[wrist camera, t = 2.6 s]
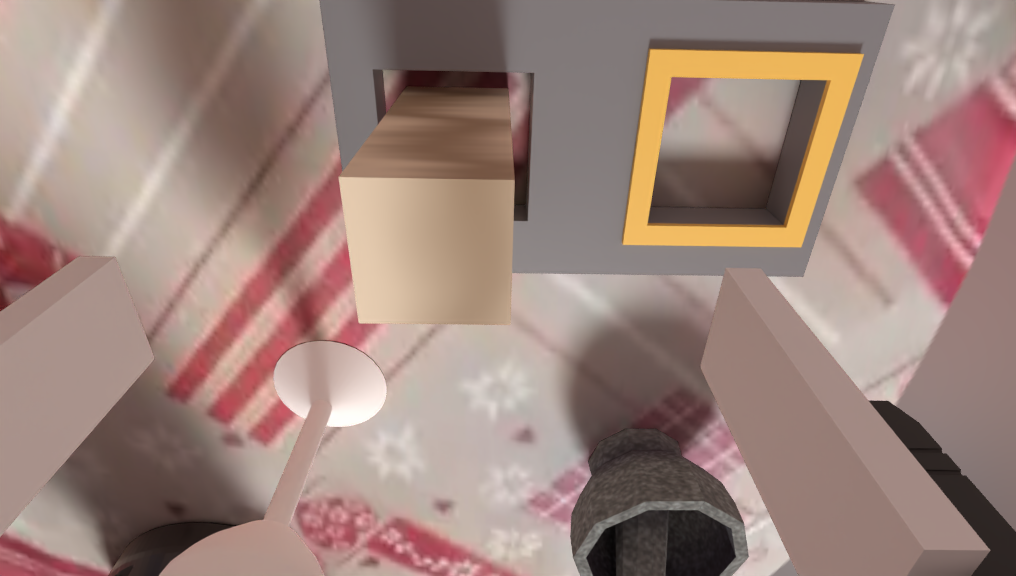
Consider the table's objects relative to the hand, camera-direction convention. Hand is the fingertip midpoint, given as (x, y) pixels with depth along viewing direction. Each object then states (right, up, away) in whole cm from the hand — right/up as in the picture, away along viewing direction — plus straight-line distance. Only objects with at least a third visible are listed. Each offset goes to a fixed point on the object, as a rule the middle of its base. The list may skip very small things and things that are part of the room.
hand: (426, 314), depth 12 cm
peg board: (+6, +7, +13) cm, 16 cm away
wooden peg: (0, +7, +13) cm, 15 cm away
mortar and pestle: (+10, -11, +25) cm, 29 cm away
